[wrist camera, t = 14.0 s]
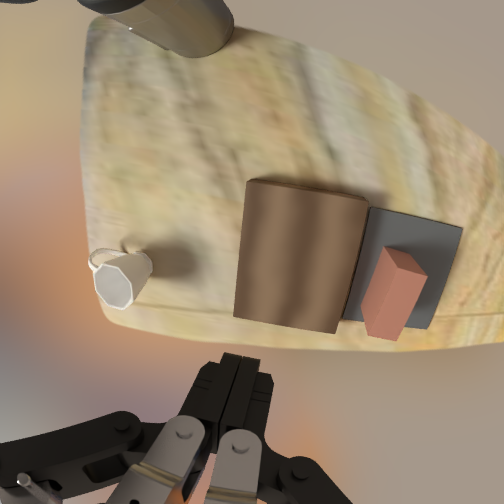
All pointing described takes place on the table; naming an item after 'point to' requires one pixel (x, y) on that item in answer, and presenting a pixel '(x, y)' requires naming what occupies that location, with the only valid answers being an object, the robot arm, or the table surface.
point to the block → (392, 294)
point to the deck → (297, 254)
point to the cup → (120, 277)
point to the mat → (414, 243)
